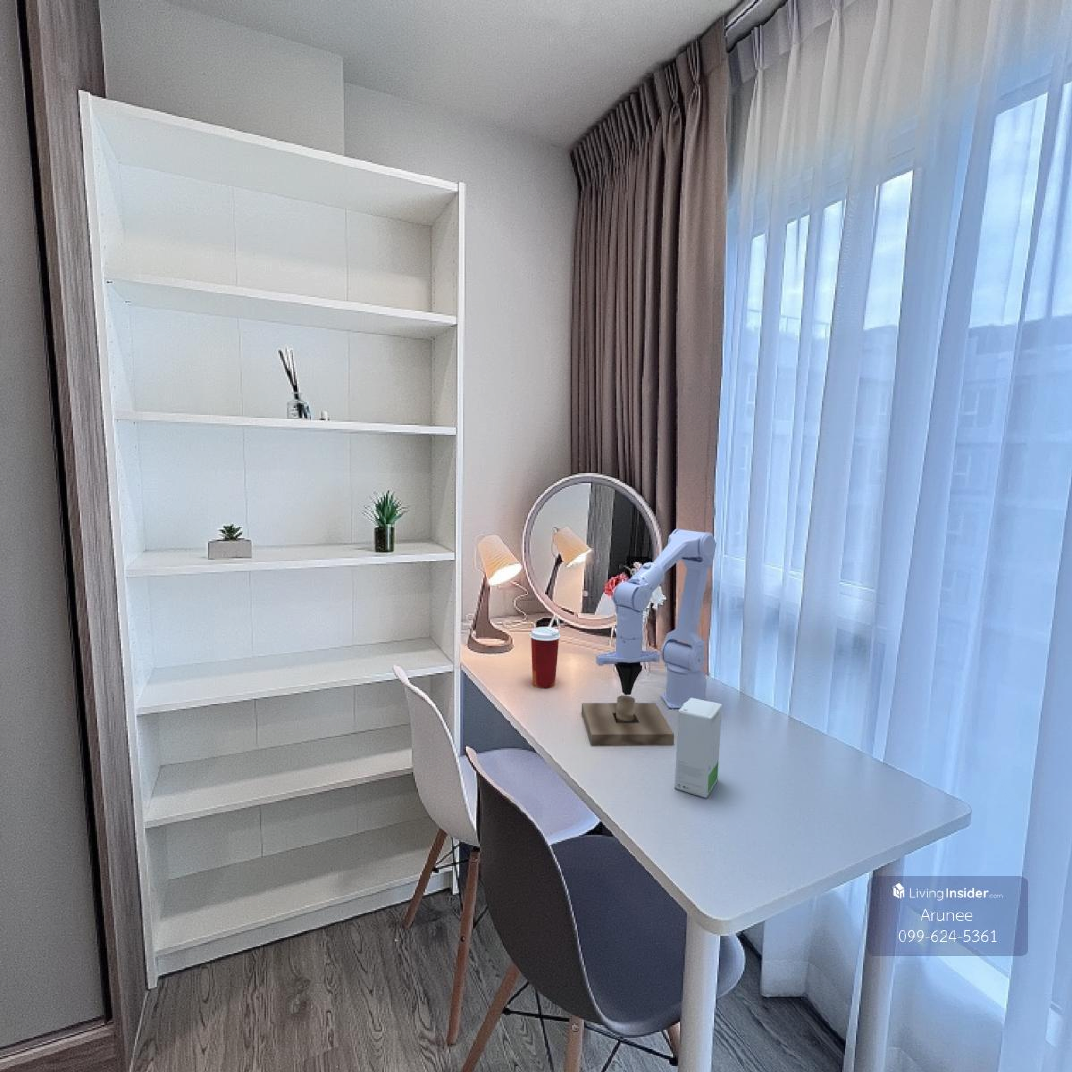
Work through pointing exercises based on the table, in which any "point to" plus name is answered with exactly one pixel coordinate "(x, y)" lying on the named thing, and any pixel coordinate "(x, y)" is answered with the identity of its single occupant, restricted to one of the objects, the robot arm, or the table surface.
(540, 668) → the coffee cup
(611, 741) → the board
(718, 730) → the skincare box
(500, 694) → the table surface
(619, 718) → the peg
